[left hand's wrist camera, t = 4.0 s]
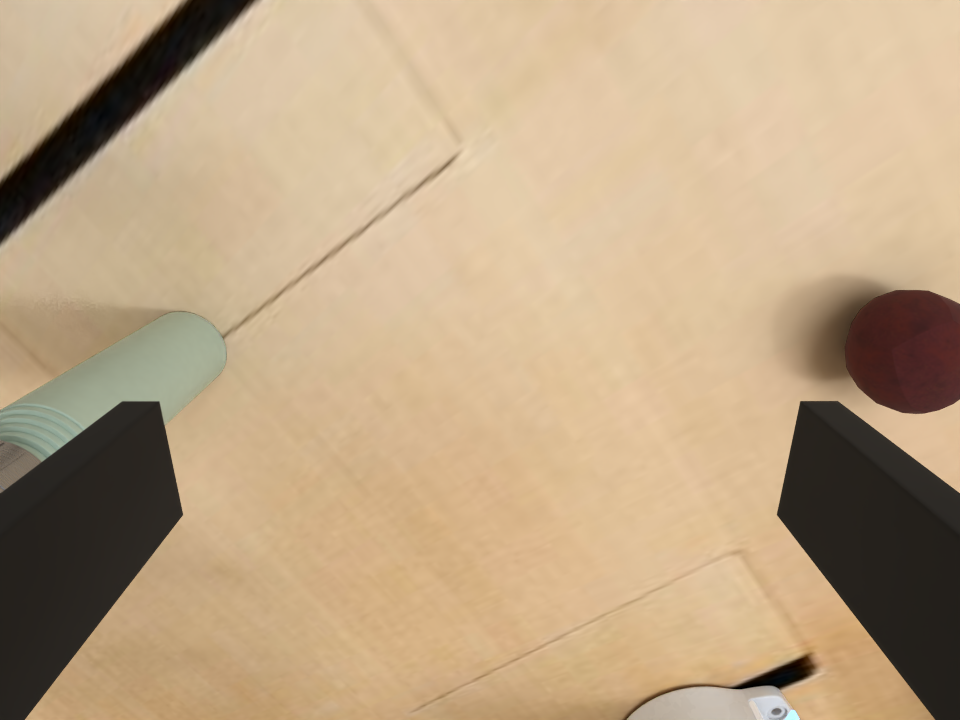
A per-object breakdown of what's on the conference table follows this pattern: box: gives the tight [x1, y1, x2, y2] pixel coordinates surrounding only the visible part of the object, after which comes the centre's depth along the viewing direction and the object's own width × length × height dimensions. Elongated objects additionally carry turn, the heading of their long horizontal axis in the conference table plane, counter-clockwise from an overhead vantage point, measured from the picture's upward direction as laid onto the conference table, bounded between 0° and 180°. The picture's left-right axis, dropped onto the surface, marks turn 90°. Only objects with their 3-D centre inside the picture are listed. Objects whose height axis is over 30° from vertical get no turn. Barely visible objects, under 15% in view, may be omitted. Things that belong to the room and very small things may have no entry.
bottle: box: [0, 312, 227, 462], centre depth 33 cm, size 5×5×19 cm
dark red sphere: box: [845, 290, 960, 414], centre depth 38 cm, size 7×8×7 cm
